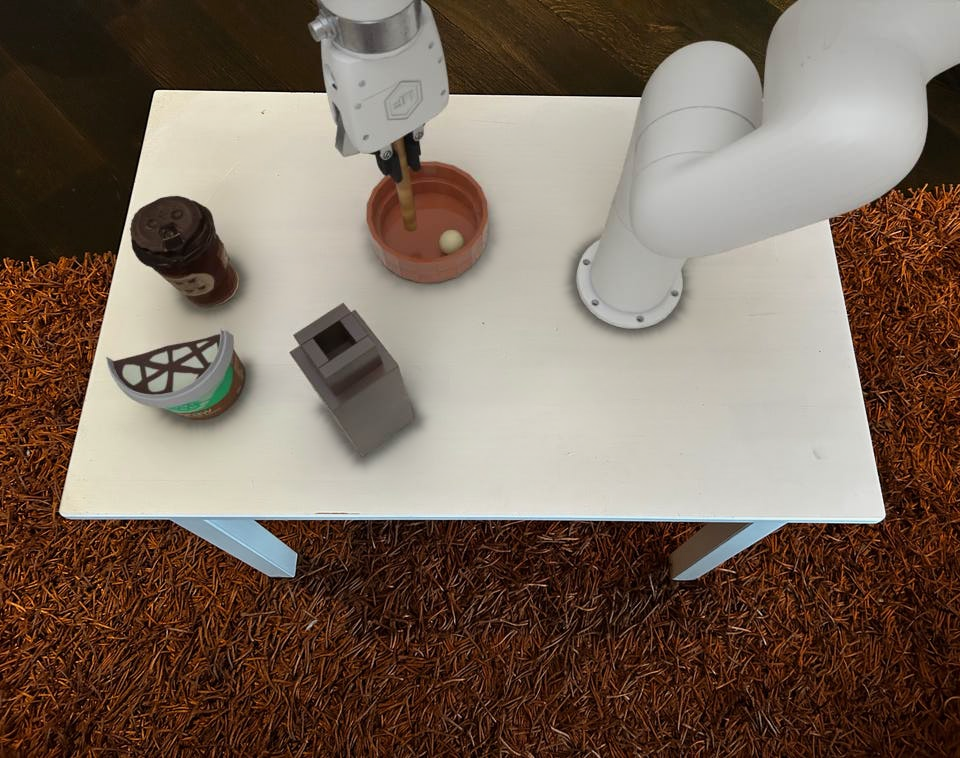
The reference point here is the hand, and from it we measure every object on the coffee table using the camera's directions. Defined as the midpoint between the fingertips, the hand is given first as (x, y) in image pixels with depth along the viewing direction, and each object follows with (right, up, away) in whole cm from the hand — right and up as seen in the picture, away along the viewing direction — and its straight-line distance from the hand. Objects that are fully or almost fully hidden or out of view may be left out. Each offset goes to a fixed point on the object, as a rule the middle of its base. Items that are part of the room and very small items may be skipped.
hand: (400, 167), depth 67 cm
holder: (-4, -26, +6) cm, 27 cm away
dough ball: (+5, -5, +11) cm, 13 cm away
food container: (-22, -24, +6) cm, 34 cm away
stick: (0, -4, +10) cm, 11 cm away
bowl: (+2, -4, +14) cm, 15 cm away
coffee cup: (-24, -11, +12) cm, 29 cm away
